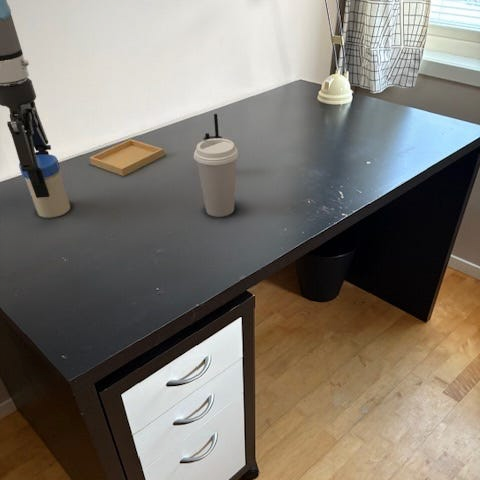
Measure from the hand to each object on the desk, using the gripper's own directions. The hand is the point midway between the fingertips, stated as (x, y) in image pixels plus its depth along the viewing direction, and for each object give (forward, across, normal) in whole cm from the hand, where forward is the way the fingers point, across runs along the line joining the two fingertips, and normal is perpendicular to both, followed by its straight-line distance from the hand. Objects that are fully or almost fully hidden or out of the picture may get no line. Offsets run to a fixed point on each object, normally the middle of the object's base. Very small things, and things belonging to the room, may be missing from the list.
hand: (46, 187), depth 109 cm
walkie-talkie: (+6, +12, -39) cm, 42 cm away
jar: (+6, 0, 0) cm, 6 cm away
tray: (+6, +25, -16) cm, 30 cm away
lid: (-6, 0, 0) cm, 6 cm away
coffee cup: (+6, -7, -39) cm, 40 cm away
